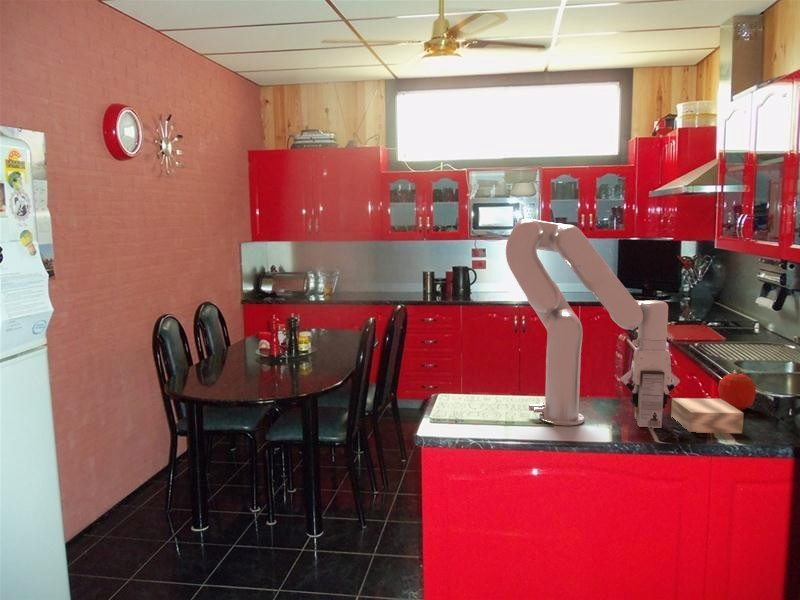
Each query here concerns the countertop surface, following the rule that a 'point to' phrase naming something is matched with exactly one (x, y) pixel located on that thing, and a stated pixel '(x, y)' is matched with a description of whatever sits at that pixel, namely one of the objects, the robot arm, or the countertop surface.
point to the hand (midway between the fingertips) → (648, 405)
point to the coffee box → (650, 399)
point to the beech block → (707, 415)
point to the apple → (737, 390)
